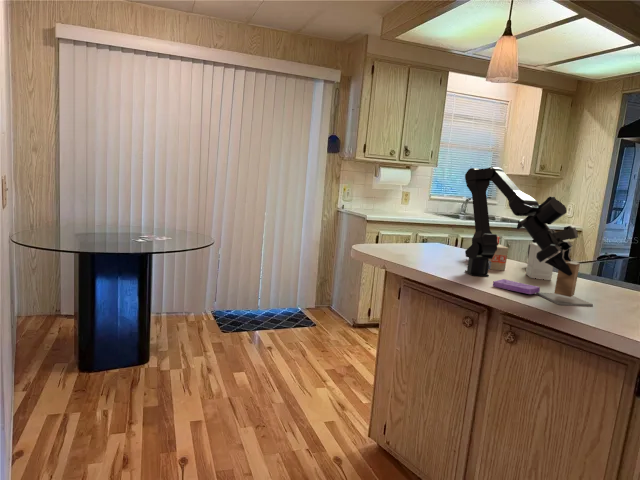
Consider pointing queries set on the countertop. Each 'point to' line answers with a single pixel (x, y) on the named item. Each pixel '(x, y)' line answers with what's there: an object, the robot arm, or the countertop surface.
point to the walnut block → (567, 280)
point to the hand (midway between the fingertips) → (572, 274)
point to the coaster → (564, 299)
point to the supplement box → (538, 265)
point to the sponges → (516, 286)
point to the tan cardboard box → (499, 257)
